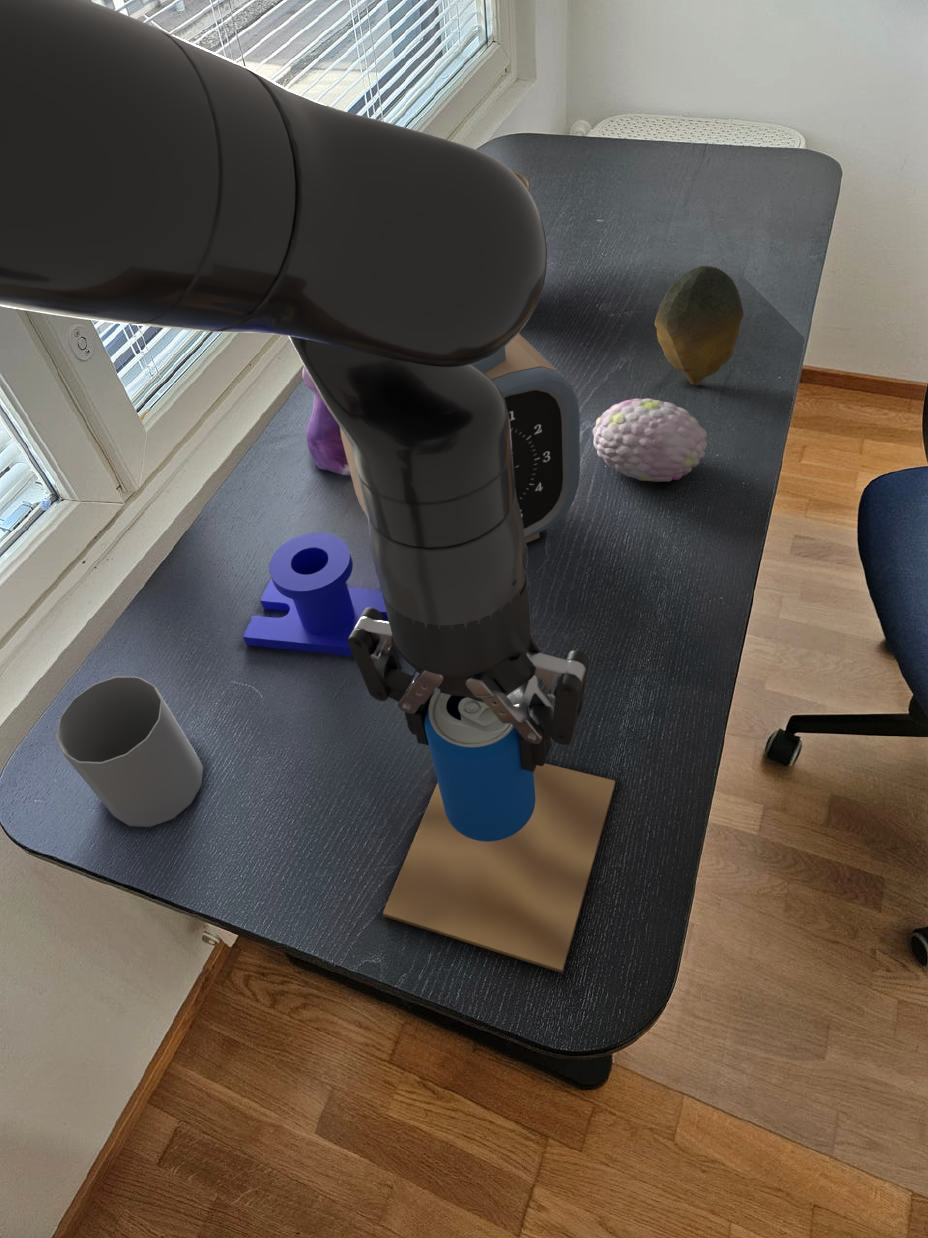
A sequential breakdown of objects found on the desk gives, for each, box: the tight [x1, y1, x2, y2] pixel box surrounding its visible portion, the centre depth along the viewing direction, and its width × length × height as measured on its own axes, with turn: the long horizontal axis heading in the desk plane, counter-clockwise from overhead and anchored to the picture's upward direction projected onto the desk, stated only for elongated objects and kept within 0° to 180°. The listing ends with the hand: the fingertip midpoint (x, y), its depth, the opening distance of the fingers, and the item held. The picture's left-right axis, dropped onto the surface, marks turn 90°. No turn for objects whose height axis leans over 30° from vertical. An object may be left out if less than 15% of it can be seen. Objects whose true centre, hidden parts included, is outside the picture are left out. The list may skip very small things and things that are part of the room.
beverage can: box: [425, 688, 536, 842], centre depth 58 cm, size 6×6×12 cm
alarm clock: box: [340, 332, 581, 544], centre depth 86 cm, size 21×10×22 cm, turn 115°
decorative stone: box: [654, 265, 745, 386], centre depth 102 cm, size 10×6×15 cm, turn 73°
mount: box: [242, 531, 389, 657], centre depth 84 cm, size 15×8×9 cm, turn 78°
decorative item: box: [592, 397, 708, 483], centre depth 95 cm, size 9×11×10 cm
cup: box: [55, 675, 204, 828], centre depth 74 cm, size 8×8×10 cm
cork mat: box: [382, 762, 616, 974], centre depth 70 cm, size 16×14×1 cm
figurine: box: [301, 365, 351, 476], centre depth 100 cm, size 9×10×15 cm
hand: (480, 745), depth 57 cm, fingers closed on beverage can, 6 cm apart
